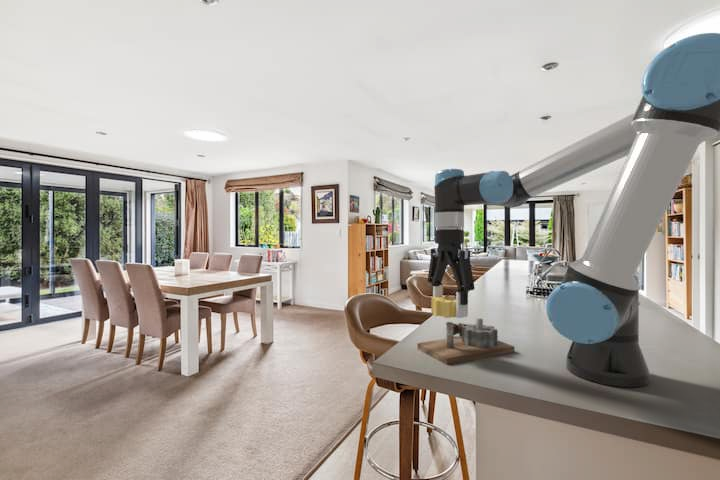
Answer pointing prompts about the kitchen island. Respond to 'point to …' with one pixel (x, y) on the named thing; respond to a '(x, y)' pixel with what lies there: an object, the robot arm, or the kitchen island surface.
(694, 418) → the kitchen island surface
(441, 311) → the mustard gear
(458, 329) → the regulator
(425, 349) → the gear board
